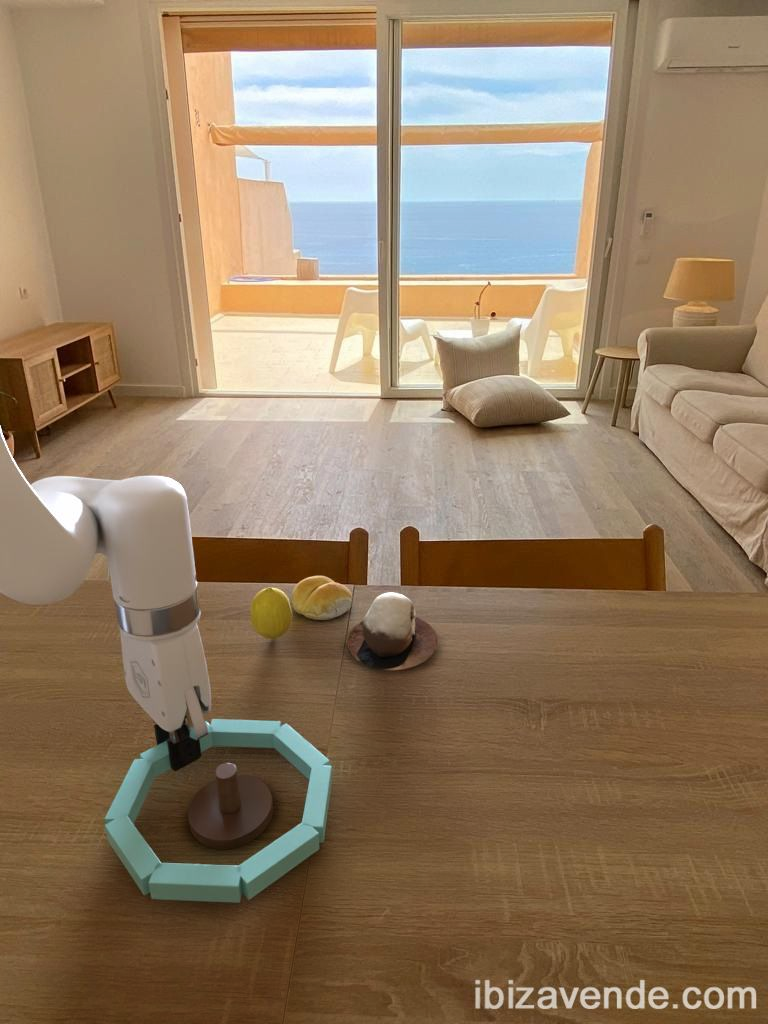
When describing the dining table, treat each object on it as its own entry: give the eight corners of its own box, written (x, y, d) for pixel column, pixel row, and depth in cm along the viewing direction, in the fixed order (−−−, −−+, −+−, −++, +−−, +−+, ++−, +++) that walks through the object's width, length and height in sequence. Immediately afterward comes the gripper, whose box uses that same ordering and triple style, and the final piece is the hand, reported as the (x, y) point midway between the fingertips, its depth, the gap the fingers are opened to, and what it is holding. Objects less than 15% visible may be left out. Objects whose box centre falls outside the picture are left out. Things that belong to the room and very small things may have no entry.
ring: (180, 950, 54) (177, 933, 53) (81, 801, 67) (77, 785, 67) (371, 811, 67) (371, 796, 66) (255, 709, 80) (254, 695, 79)
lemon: (245, 646, 93) (239, 594, 90) (265, 624, 98) (260, 574, 95) (282, 654, 91) (277, 601, 88) (300, 631, 96) (297, 581, 93)
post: (216, 865, 62) (209, 819, 60) (174, 812, 68) (166, 769, 66) (289, 815, 67) (285, 771, 65) (244, 770, 73) (239, 729, 70)
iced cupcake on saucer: (359, 604, 100) (405, 564, 95) (409, 655, 101) (457, 618, 96) (325, 648, 90) (375, 606, 85) (381, 704, 90) (434, 666, 85)
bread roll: (322, 585, 108) (321, 562, 106) (361, 606, 102) (360, 583, 100) (279, 605, 103) (277, 581, 101) (317, 629, 97) (316, 604, 95)
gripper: (85, 587, 69) (113, 734, 76) (159, 659, 58) (184, 821, 65) (156, 563, 73) (176, 703, 81) (237, 625, 63) (252, 780, 70)
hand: (179, 755), depth 73 cm, fingers closed on ring, 2 cm apart
